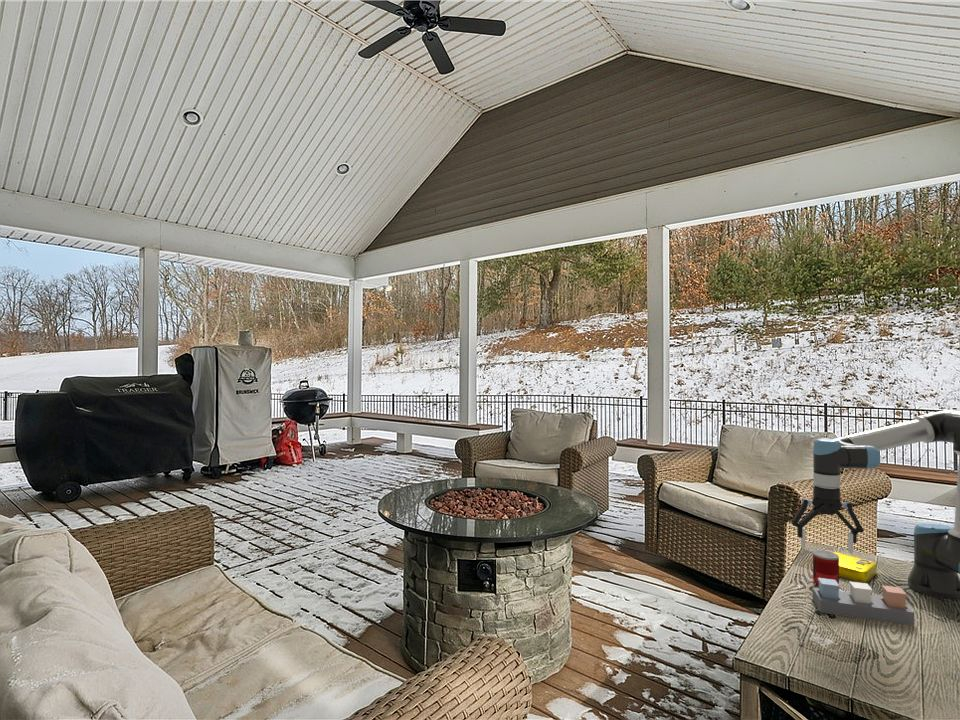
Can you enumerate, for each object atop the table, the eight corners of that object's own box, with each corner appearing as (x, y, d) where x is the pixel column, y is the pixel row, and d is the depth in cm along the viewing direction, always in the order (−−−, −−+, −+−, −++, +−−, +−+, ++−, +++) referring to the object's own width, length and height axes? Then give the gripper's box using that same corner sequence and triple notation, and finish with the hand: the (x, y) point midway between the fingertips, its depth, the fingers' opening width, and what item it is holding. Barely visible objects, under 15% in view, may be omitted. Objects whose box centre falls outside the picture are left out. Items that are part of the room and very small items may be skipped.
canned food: (844, 588, 189) (844, 558, 189) (821, 588, 189) (821, 558, 189) (830, 579, 196) (830, 550, 196) (808, 579, 197) (808, 550, 196)
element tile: (833, 561, 214) (833, 549, 214) (878, 573, 203) (877, 560, 203) (819, 571, 205) (819, 559, 205) (865, 584, 193) (865, 571, 193)
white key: (867, 598, 174) (867, 583, 174) (872, 605, 169) (872, 590, 169) (849, 596, 175) (849, 581, 175) (854, 603, 171) (854, 587, 171)
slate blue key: (835, 594, 177) (835, 579, 177) (839, 601, 172) (839, 585, 172) (817, 592, 178) (817, 577, 178) (821, 598, 174) (821, 583, 174)
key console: (900, 610, 173) (900, 598, 173) (914, 625, 163) (914, 612, 163) (812, 599, 181) (812, 587, 181) (820, 612, 172) (820, 600, 172)
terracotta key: (900, 602, 171) (900, 587, 170) (906, 610, 166) (906, 594, 166) (881, 600, 172) (881, 585, 172) (887, 607, 168) (887, 591, 167)
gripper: (867, 486, 175) (867, 550, 175) (781, 480, 183) (781, 541, 184) (875, 492, 168) (875, 558, 168) (786, 485, 176) (785, 548, 177)
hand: (826, 549), depth 176 cm, fingers open, 13 cm apart
